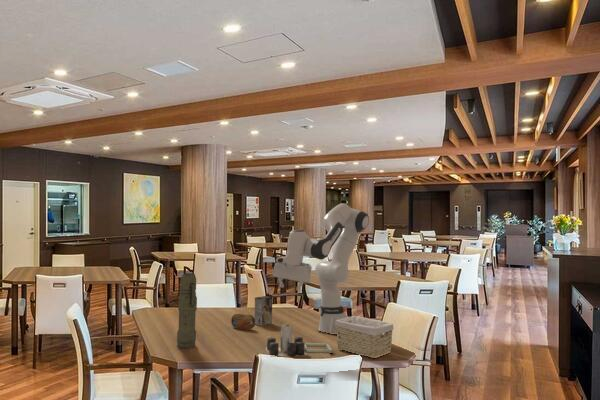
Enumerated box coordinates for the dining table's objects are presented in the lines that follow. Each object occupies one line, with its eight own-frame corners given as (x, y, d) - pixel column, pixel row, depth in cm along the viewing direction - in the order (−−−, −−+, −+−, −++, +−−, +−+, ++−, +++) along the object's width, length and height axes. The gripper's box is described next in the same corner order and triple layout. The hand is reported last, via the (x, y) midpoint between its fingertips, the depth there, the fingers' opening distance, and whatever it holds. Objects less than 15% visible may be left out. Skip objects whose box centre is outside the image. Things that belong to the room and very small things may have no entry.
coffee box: (264, 322, 286) (264, 295, 286) (272, 323, 282) (272, 296, 282) (253, 324, 278) (254, 297, 279) (262, 326, 274) (262, 298, 275)
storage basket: (394, 354, 221) (395, 322, 221) (375, 361, 209) (375, 327, 210) (353, 344, 237) (354, 315, 238) (333, 350, 225) (334, 319, 226)
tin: (230, 327, 269) (231, 313, 269) (234, 326, 271) (234, 312, 272) (252, 331, 262) (253, 315, 262) (255, 330, 264) (256, 315, 265)
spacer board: (302, 349, 226) (303, 336, 226) (307, 358, 211) (307, 344, 211) (265, 349, 224) (265, 336, 224) (267, 359, 208) (267, 345, 209)
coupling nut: (291, 350, 220) (291, 324, 221) (291, 352, 216) (292, 326, 216) (280, 350, 220) (280, 324, 220) (280, 352, 215) (281, 326, 216)
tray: (327, 347, 230) (327, 343, 230) (332, 354, 218) (332, 349, 218) (303, 347, 229) (303, 343, 229) (306, 354, 217) (306, 350, 217)
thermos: (186, 342, 234) (189, 271, 236) (201, 346, 226) (203, 274, 228) (171, 345, 228) (173, 273, 230) (185, 350, 220) (187, 275, 222)
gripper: (314, 264, 233) (310, 292, 232) (279, 258, 243) (275, 285, 242) (309, 264, 228) (305, 292, 226) (273, 258, 238) (269, 285, 236)
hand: (289, 288), depth 234 cm, fingers open, 8 cm apart
